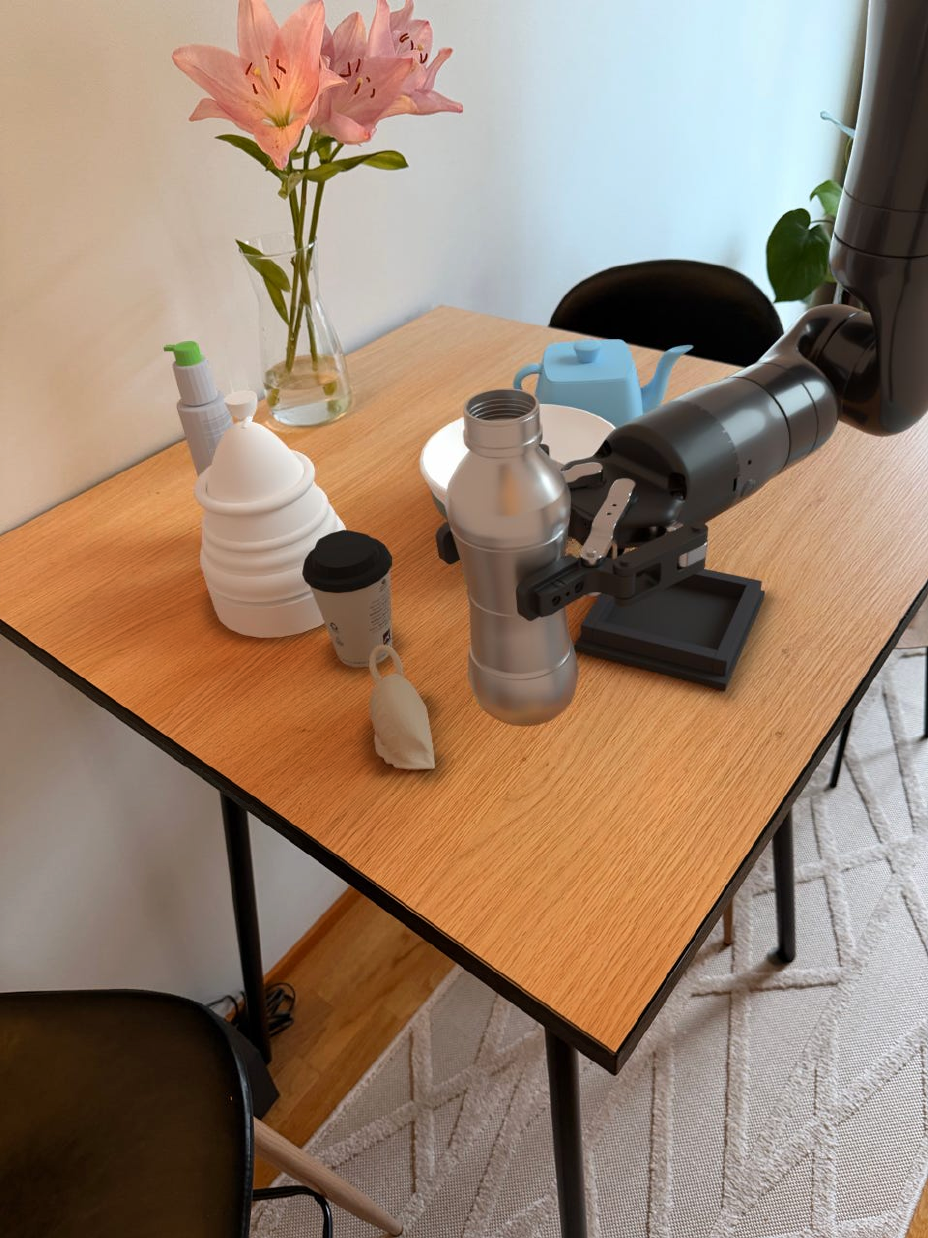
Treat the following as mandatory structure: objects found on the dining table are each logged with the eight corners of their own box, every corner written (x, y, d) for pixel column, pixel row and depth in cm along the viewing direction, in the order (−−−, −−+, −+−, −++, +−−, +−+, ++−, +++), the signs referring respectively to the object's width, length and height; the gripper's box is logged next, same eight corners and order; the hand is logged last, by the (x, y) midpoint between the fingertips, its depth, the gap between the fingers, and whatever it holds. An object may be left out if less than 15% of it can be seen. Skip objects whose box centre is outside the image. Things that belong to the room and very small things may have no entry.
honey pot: (224, 558, 87) (169, 382, 75) (358, 543, 87) (323, 364, 75) (204, 645, 77) (137, 457, 65) (355, 628, 77) (315, 437, 65)
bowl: (656, 561, 80) (660, 480, 75) (450, 603, 78) (440, 523, 73) (588, 462, 95) (588, 389, 90) (413, 495, 93) (403, 422, 87)
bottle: (241, 525, 91) (185, 332, 79) (274, 536, 89) (221, 339, 77) (210, 548, 88) (147, 351, 76) (243, 559, 86) (184, 359, 74)
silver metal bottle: (549, 755, 52) (532, 448, 40) (451, 718, 56) (405, 423, 43) (597, 685, 56) (595, 386, 44) (502, 654, 60) (475, 367, 47)
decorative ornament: (377, 780, 64) (365, 726, 60) (373, 697, 70) (362, 645, 67) (434, 771, 64) (426, 718, 60) (425, 690, 70) (417, 638, 67)
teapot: (693, 470, 92) (702, 362, 84) (515, 478, 94) (509, 373, 86) (679, 414, 101) (686, 313, 94) (517, 422, 103) (512, 323, 96)
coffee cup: (421, 655, 73) (405, 554, 67) (343, 689, 71) (319, 588, 65) (384, 611, 78) (366, 513, 72) (310, 642, 76) (284, 543, 70)
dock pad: (764, 598, 75) (767, 576, 74) (725, 691, 67) (728, 668, 66) (625, 568, 80) (626, 546, 79) (573, 651, 72) (573, 629, 71)
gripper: (609, 367, 57) (392, 466, 50) (803, 442, 48) (570, 577, 41) (609, 470, 62) (410, 574, 55) (785, 557, 53) (573, 696, 46)
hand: (480, 575), depth 48 cm, fingers closed on silver metal bottle, 6 cm apart
